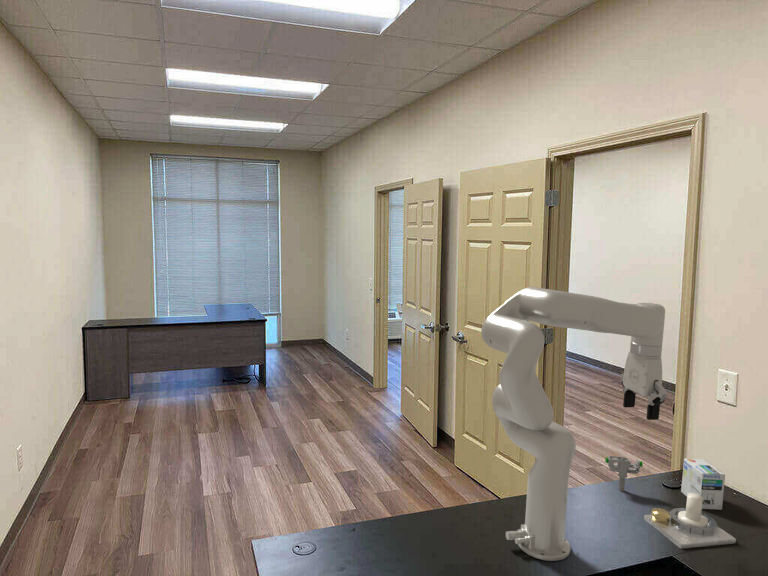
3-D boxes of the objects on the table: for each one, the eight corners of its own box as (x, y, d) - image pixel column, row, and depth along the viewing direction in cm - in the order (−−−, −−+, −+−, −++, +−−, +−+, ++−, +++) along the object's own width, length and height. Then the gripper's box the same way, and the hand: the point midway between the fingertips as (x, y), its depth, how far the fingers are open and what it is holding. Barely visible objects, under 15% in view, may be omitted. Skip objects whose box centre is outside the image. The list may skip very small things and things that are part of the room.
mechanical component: (640, 494, 166) (643, 462, 164) (604, 490, 168) (606, 459, 166) (638, 490, 168) (640, 458, 167) (602, 486, 170) (605, 455, 169)
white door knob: (690, 530, 144) (693, 503, 143) (671, 516, 151) (674, 490, 150) (713, 528, 146) (716, 501, 145) (694, 515, 152) (696, 489, 151)
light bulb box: (722, 510, 158) (726, 474, 157) (699, 509, 158) (702, 473, 157) (701, 492, 169) (705, 458, 167) (679, 491, 169) (683, 457, 167)
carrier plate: (680, 548, 138) (681, 536, 138) (643, 519, 152) (644, 508, 151) (735, 543, 141) (736, 531, 141) (694, 514, 155) (695, 503, 154)
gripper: (613, 343, 153) (608, 403, 155) (655, 358, 136) (649, 425, 138) (637, 342, 155) (632, 402, 157) (681, 357, 138) (675, 424, 140)
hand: (640, 412), depth 147 cm, fingers open, 9 cm apart
